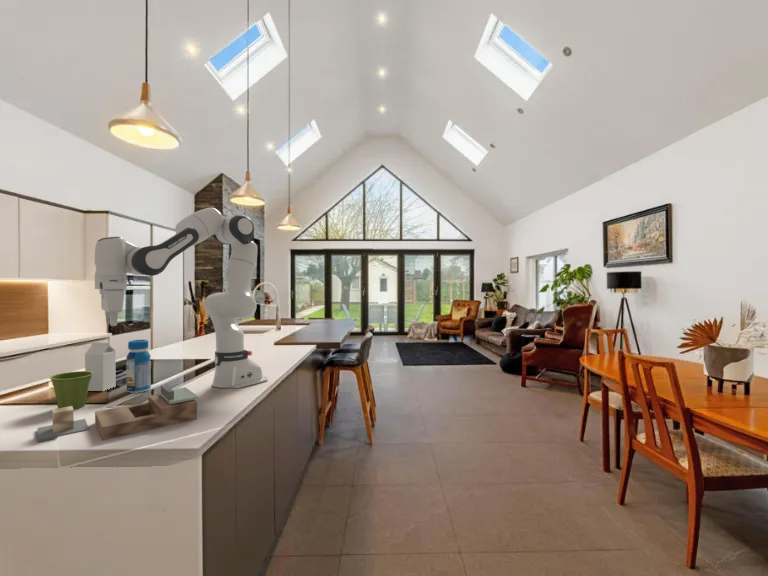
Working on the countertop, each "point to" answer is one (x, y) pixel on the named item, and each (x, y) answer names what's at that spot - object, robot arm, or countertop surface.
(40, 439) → the rubber pad
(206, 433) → the countertop surface
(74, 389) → the plant pot
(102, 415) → the puzzle board
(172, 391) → the sliding lid
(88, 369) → the milk carton
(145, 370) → the beverage bottle
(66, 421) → the maple block
